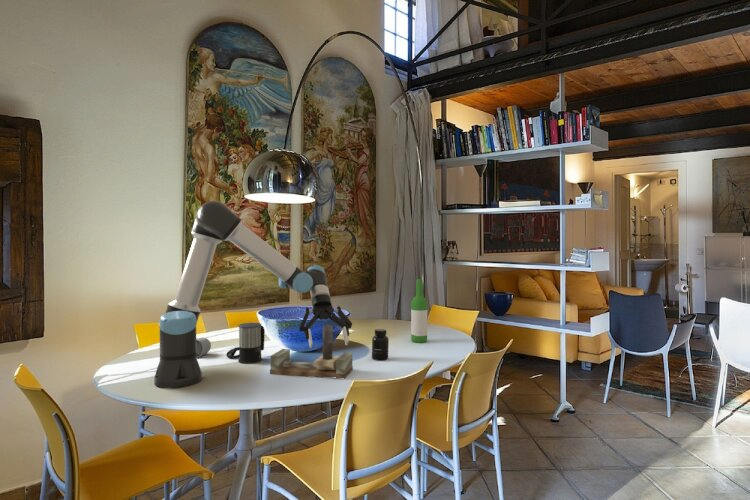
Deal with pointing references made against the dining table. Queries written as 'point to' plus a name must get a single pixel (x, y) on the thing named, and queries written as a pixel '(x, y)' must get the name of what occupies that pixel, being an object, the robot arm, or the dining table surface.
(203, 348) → the ceramic mug
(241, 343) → the milk frother
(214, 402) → the dining table surface
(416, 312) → the wine bottle
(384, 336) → the supplement bottle
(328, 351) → the carriage
